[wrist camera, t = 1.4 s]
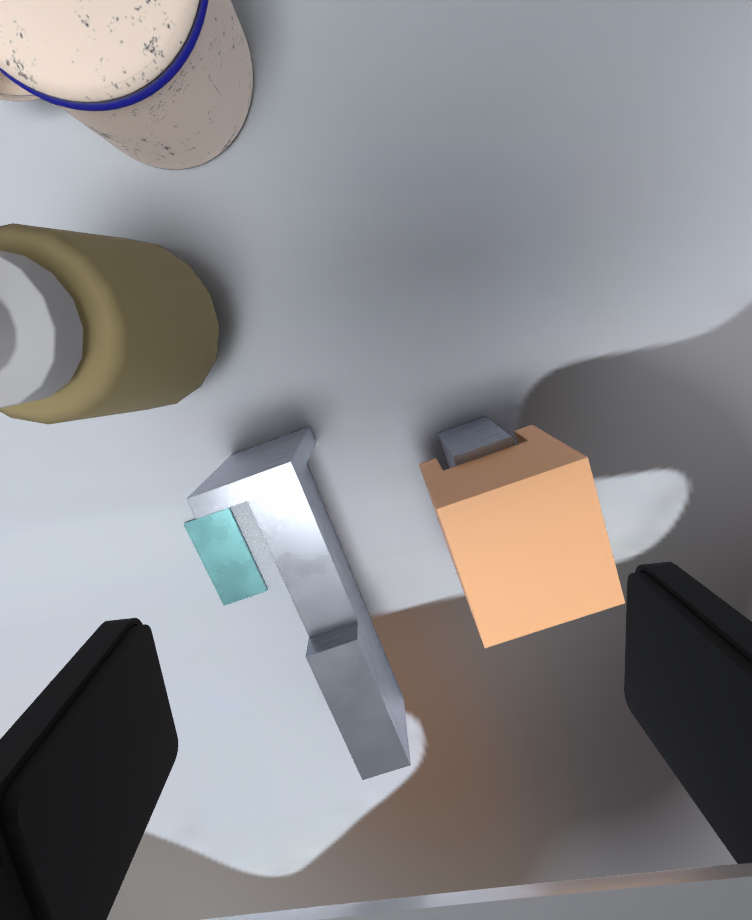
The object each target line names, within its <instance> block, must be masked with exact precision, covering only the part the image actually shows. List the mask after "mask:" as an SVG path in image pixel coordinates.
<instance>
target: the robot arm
mask: <svg viewBox="0 0 752 920" xmlns="http://www.w3.org/2000/svg"><path fill="white" fill-rule="evenodd" d="M625 649H626V650H625V684H624V691H625V698H626V701H627V704H628V707H629V709H630V711H631V712H632V714H633V715H634V717H635V718H636V719H637V721H638V722H639V724H640V725H641V726H642V728H643V730H644V731H645V732H646V734H647V735H648V737H649V738H650V740H651V741H652V742H653V744H654V745H655V747H656V748H657V750H658V751H659V752H660V754H661V755H662V756H663V758H664V759H665V761H666V762H667V763H668V765H669V766H670V768H671V769H672V771H673V772H674V774H675V775H676V777H677V778H678V779H679V781H680V782H681V784H682V785H683V787H684V788H685V789H686V791H687V792H688V794H689V795H690V797H691V798H692V799H693V801H694V802H695V804H696V805H697V806H698V808H699V809H700V811H701V812H702V814H703V815H704V816H705V818H706V819H707V821H708V822H709V824H710V825H711V826H712V828H713V829H714V831H715V832H716V833H717V835H718V836H719V838H720V839H721V841H722V842H723V844H724V845H725V846H726V848H727V849H728V851H729V852H730V853H731V855H732V856H733V858H734V859H735V861H736V862H737V863H738V864H733V865H721V866H711V867H700V868H690V869H680V870H670V871H660V872H650V873H640V874H629V875H620V876H609V877H600V878H589V879H579V880H569V881H559V882H548V883H538V884H528V885H519V886H509V887H500V888H490V889H481V890H471V891H462V892H453V893H442V894H434V895H424V896H414V897H405V898H395V899H386V900H377V901H367V902H358V903H348V904H339V905H330V906H320V907H311V908H302V909H293V910H284V911H275V912H266V913H257V914H248V915H239V916H231V917H221V918H212V919H203V920H752V622H751V621H750V620H749V619H747V618H746V617H744V616H743V615H742V614H740V613H739V612H738V611H736V610H735V609H734V608H732V607H731V606H730V605H729V604H727V603H726V602H725V601H723V600H722V599H721V598H719V597H718V596H717V595H715V594H714V593H713V592H711V591H710V590H709V589H707V588H706V587H705V586H703V585H702V584H701V583H699V582H698V581H697V580H695V579H694V578H693V577H691V576H690V575H689V574H687V573H686V572H685V571H683V570H682V569H681V568H679V567H678V566H677V565H675V564H674V563H672V562H663V563H653V564H643V565H639V566H638V567H637V569H636V571H635V573H631V574H630V575H629V577H628V582H627V613H626V648H625ZM177 751H178V738H177V733H176V729H175V725H174V721H173V717H172V713H171V708H170V704H169V700H168V696H167V692H166V688H165V684H164V680H163V676H162V672H161V668H160V664H159V659H158V655H157V651H156V647H155V643H154V639H153V635H152V631H151V628H150V627H149V626H148V625H142V623H141V621H140V620H139V619H137V618H131V619H121V620H112V621H105V622H104V623H103V624H101V626H100V627H99V628H98V629H97V630H96V631H95V632H94V633H93V635H92V636H91V637H90V638H89V639H88V640H87V641H86V643H85V644H84V645H83V646H82V647H81V648H80V649H79V651H78V652H77V653H76V654H75V655H74V656H73V657H72V658H71V660H70V661H69V662H68V663H67V664H66V665H65V666H64V668H63V669H62V670H61V671H60V672H59V673H58V674H57V676H56V677H55V678H54V679H53V680H52V681H51V682H50V683H49V685H48V686H47V687H46V688H45V689H44V690H43V691H42V693H41V694H40V695H39V696H38V697H37V698H36V699H35V701H34V702H33V703H32V704H31V705H30V706H29V707H28V708H27V710H26V711H25V712H24V713H23V714H22V715H21V716H20V718H19V719H18V720H17V721H16V722H15V723H14V724H13V726H12V727H11V728H10V729H9V730H8V731H7V732H6V733H5V735H4V736H3V737H2V738H1V739H0V920H106V919H107V917H108V915H109V912H110V910H111V907H112V905H113V903H114V900H115V898H116V896H117V894H118V891H119V889H120V887H121V884H122V882H123V880H124V878H125V875H126V873H127V871H128V868H129V866H130V864H131V861H132V859H133V857H134V854H135V852H136V850H137V847H138V845H139V843H140V841H141V838H142V836H143V834H144V831H145V829H146V827H147V824H148V822H149V820H150V817H151V815H152V813H153V810H154V808H155V806H156V804H157V801H158V799H159V797H160V794H161V792H162V790H163V787H164V785H165V783H166V780H167V778H168V776H169V773H170V771H171V769H172V767H173V764H174V762H175V759H176V756H177Z"/></svg>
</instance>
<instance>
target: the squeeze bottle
mask: <svg viewBox="0 0 752 920" xmlns="http://www.w3.org/2000/svg"><path fill="white" fill-rule="evenodd" d="M219 328H220V327H219V323H218V320H217V316H216V312H215V309H214V305H213V301H212V298H211V294H210V293H209V291H208V290H207V289H206V287H205V286H204V285H203V283H202V282H201V280H200V279H199V278H198V276H197V275H196V274H195V272H194V271H193V269H192V268H191V267H190V265H188V264H187V263H185V262H184V261H182V260H181V259H179V258H178V257H176V256H175V255H173V254H172V253H170V252H169V251H167V250H166V249H164V248H163V247H161V246H160V245H155V244H150V243H145V242H140V241H136V240H131V239H126V238H119V237H111V236H103V235H96V234H88V233H81V232H73V231H66V230H58V229H51V228H43V227H36V226H28V225H20V224H8V225H4V226H0V412H2V413H4V414H6V415H7V416H9V417H11V418H16V419H21V420H27V421H33V422H38V423H44V424H54V423H60V422H67V421H74V420H80V419H87V418H94V417H100V416H107V415H114V414H121V413H127V412H134V411H141V410H147V409H152V408H157V407H161V406H166V405H171V404H176V403H178V402H179V401H181V400H182V399H183V398H185V397H186V396H187V395H189V394H190V393H192V392H193V391H194V390H196V389H197V388H199V387H200V386H201V385H202V383H203V381H204V380H205V378H206V376H207V374H208V373H209V371H210V369H211V367H212V366H213V364H214V362H215V360H216V355H217V346H218V337H219Z"/></svg>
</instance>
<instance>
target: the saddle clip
mask: <svg viewBox="0 0 752 920" xmlns="http://www.w3.org/2000/svg"><path fill="white" fill-rule="evenodd" d="M515 435H516V438H517V442H518V445H515V446H512V447H509V448H506V449H503V450H501V451H498V452H495V453H492V454H489V455H486V456H483V457H480V458H478V459H475V460H472V461H469V462H466V463H463V464H460V465H457V466H455V467H452V468H449V469H446V470H442V468H441V466H440V464H439V462H438V460H437V458H435V459H432V460H430V461H427V462H424V463H421V464H419V466H420V469H421V472H422V475H423V478H424V480H425V483H426V486H427V489H428V492H429V495H430V498H431V500H432V503H433V506H434V509H435V512H436V515H437V518H438V520H439V523H440V526H441V529H442V532H443V535H444V538H445V540H446V543H447V546H448V549H449V552H450V555H451V558H452V560H453V563H454V566H455V569H456V572H457V575H458V577H459V580H460V583H461V585H462V588H463V591H464V593H465V596H466V599H467V601H468V604H469V607H470V609H471V612H472V615H473V618H474V620H475V623H476V625H477V628H478V631H479V634H480V636H481V639H482V642H483V644H484V647H485V648H487V647H490V646H493V645H496V644H499V643H502V642H505V641H509V640H512V639H515V638H518V637H521V636H524V635H527V634H530V633H533V632H537V631H539V630H542V629H545V628H549V627H552V626H555V625H558V624H561V623H565V622H567V621H571V620H574V619H577V618H580V617H583V616H586V615H589V614H593V613H595V612H599V611H602V610H605V609H608V608H611V607H614V606H617V605H620V604H624V603H625V601H624V597H623V593H622V589H621V586H620V581H619V578H618V573H617V570H616V566H615V562H614V558H613V554H612V550H611V546H610V542H609V538H608V534H607V531H606V527H605V523H604V519H603V515H602V511H601V507H600V503H599V499H598V495H597V491H596V488H595V484H594V480H593V476H592V472H591V469H590V464H589V461H588V457H586V456H585V455H583V454H581V453H580V452H578V451H576V450H575V449H573V448H571V447H569V446H568V445H566V444H564V443H563V442H561V441H559V440H558V439H556V438H554V437H553V436H551V435H549V434H547V433H546V432H544V431H542V430H540V429H539V428H537V427H535V426H534V425H529V426H527V427H524V428H521V429H518V430H515Z"/></svg>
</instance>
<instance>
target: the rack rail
mask: <svg viewBox="0 0 752 920" xmlns="http://www.w3.org/2000/svg"><path fill="white" fill-rule="evenodd" d="M315 443H316V441H315V438H314V436H313V433H312V431H311V428H310V427H307V428H304V429H301V430H298V431H296V432H293V433H290V434H287V435H285V436H282V437H279V438H276V439H274V440H271V441H268V442H265V443H262V444H260V445H257V446H254V447H251V448H249V449H246V450H243V451H240V452H238V453H235V454H232V455H231V456H230V457H229V458H228V459H227V460H226V461H225V462H224V463H223V464H222V465H221V466H220V467H219V468H218V469H217V470H216V471H215V472H214V473H212V474H211V475H210V476H209V477H208V478H207V479H206V480H205V481H204V482H203V483H202V484H201V485H200V486H199V487H198V488H197V489H196V490H195V491H194V492H193V493H192V494H191V495H190V496H189V497H188V498H187V499H186V500H187V502H188V504H189V506H190V508H191V510H192V512H193V514H194V517H195V519H194V520H191V521H189V522H186V523H184V526H185V528H186V530H187V532H188V534H189V536H190V538H191V540H192V542H193V544H194V546H195V548H196V550H197V552H198V554H199V556H200V558H201V560H202V562H203V564H204V566H205V568H206V570H207V572H208V574H209V576H210V578H211V580H212V582H213V584H214V586H215V589H216V591H217V593H218V595H219V597H220V599H221V601H222V603H223V605H227V604H230V603H233V602H236V601H239V600H242V599H245V598H248V597H250V596H253V595H256V594H259V593H262V592H265V591H267V590H268V589H267V587H266V585H265V583H264V580H263V578H262V576H261V574H260V572H259V570H258V568H257V565H256V563H255V561H254V559H253V557H252V555H251V553H250V550H249V548H248V546H247V544H246V542H245V540H244V538H243V535H242V533H241V531H240V529H239V527H238V525H237V522H236V520H235V518H234V516H233V514H232V512H231V510H230V507H231V506H234V505H237V504H240V503H243V502H245V501H248V503H249V505H250V508H251V510H252V512H253V514H254V517H255V519H256V521H257V523H258V525H259V528H260V530H261V532H262V534H263V536H264V539H265V541H266V543H267V545H268V547H269V550H270V552H271V554H272V556H273V558H274V561H275V563H276V565H277V567H278V569H279V572H280V574H281V576H282V578H283V580H284V583H285V585H286V587H287V589H288V591H289V594H290V596H291V598H292V600H293V602H294V605H295V607H296V609H297V611H298V613H299V616H300V618H301V620H302V622H303V624H304V627H305V629H306V631H307V633H308V636H309V641H308V647H307V652H306V658H307V661H308V663H309V665H310V667H311V669H312V671H313V674H314V676H315V678H316V680H317V682H318V684H319V687H320V689H321V691H322V693H323V695H324V697H325V700H326V702H327V704H328V706H329V708H330V710H331V713H332V715H333V717H334V719H335V721H336V723H337V726H338V728H339V730H340V732H341V734H342V736H343V739H344V741H345V743H346V745H347V747H348V749H349V752H350V754H351V756H352V758H353V760H354V762H355V765H356V767H357V769H358V771H359V773H360V775H361V778H362V780H364V779H367V778H371V777H374V776H377V775H380V774H384V773H387V772H390V771H393V770H397V769H400V768H403V767H406V766H410V765H411V764H410V755H409V746H408V736H407V727H406V717H405V708H404V698H403V696H402V694H401V691H400V688H399V686H398V684H397V681H396V679H395V676H394V674H393V671H392V669H391V667H390V664H389V662H388V659H387V657H386V654H385V652H384V650H383V647H382V645H381V642H380V640H379V637H378V635H377V633H376V630H375V628H374V625H373V623H372V620H371V618H370V615H369V613H368V611H367V608H366V606H365V603H364V601H363V598H362V596H361V594H360V591H359V589H358V586H357V584H356V581H355V579H354V577H353V574H352V572H351V569H350V567H349V564H348V562H347V560H346V557H345V555H344V552H343V550H342V547H341V545H340V543H339V540H338V538H337V535H336V533H335V530H334V528H333V526H332V523H331V521H330V518H329V516H328V513H327V511H326V509H325V506H324V504H323V501H322V499H321V496H320V494H319V492H318V489H317V487H316V484H315V482H314V479H313V477H312V475H311V472H310V470H309V467H308V465H307V462H308V460H309V458H310V455H311V453H312V450H313V448H314V445H315Z"/></svg>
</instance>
